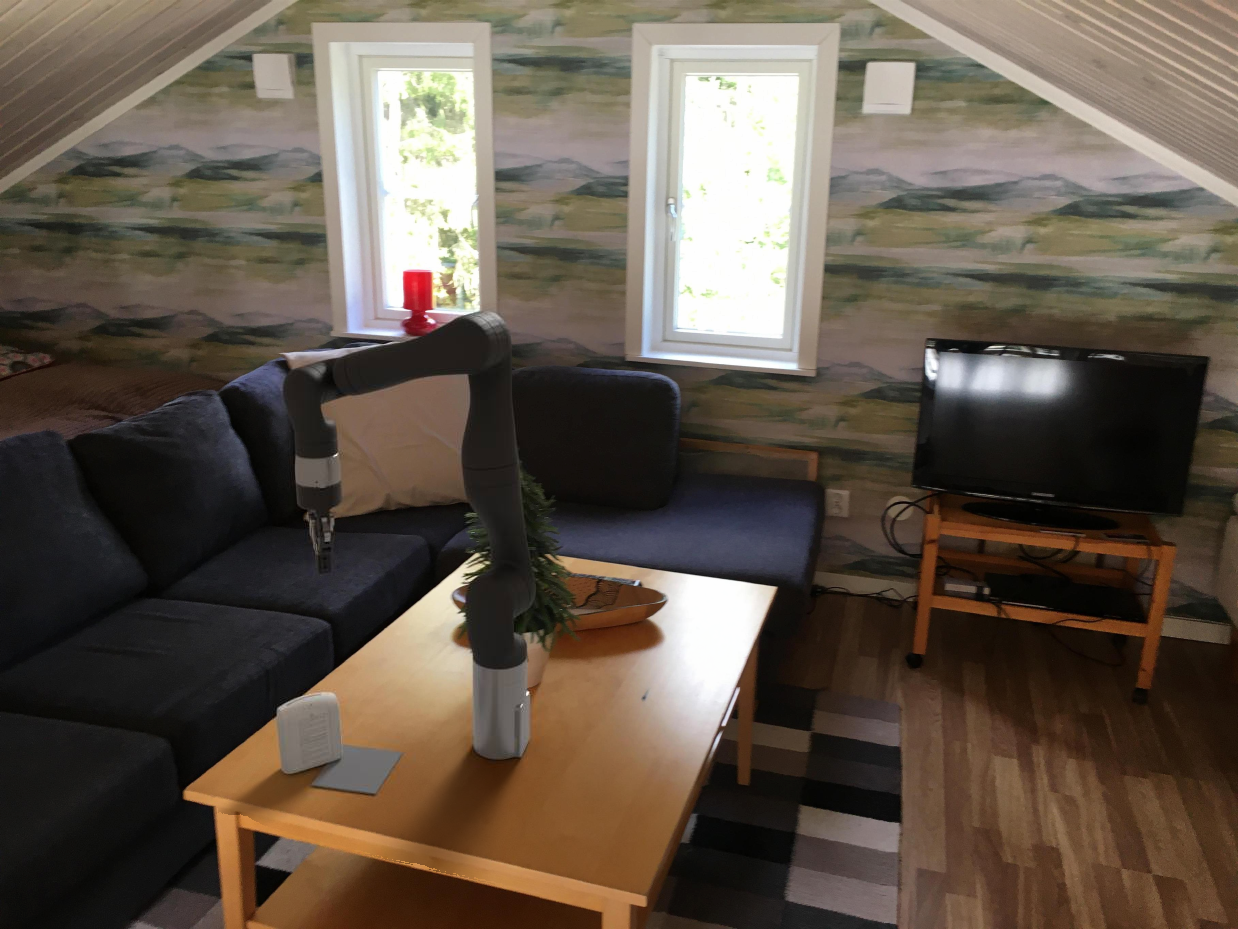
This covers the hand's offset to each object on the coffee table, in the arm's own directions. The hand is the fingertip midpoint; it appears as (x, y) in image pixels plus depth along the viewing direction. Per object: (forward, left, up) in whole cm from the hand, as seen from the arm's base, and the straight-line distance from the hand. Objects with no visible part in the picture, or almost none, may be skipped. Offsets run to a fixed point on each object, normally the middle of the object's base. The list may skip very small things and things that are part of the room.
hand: (323, 570), depth 182 cm
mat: (-13, +18, -27) cm, 35 cm away
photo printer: (-5, +18, -27) cm, 33 cm away
